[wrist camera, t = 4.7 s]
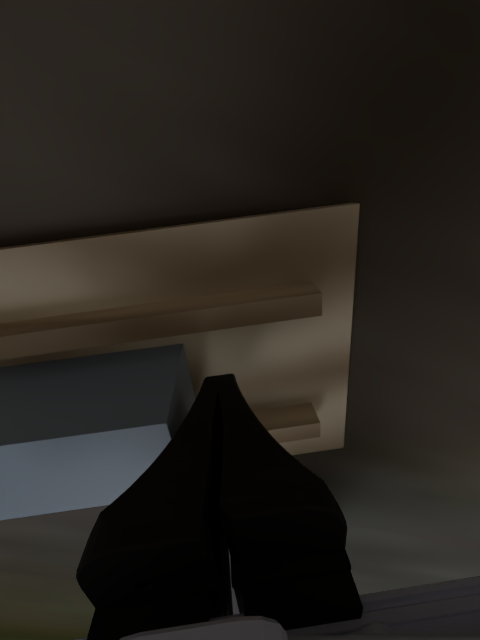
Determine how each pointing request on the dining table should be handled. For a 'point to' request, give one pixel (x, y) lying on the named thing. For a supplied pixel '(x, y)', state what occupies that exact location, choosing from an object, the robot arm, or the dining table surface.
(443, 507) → the dining table surface
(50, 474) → the blue-grey rectangular block
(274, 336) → the shelf slot
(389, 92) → the dining table surface
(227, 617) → the robot arm
